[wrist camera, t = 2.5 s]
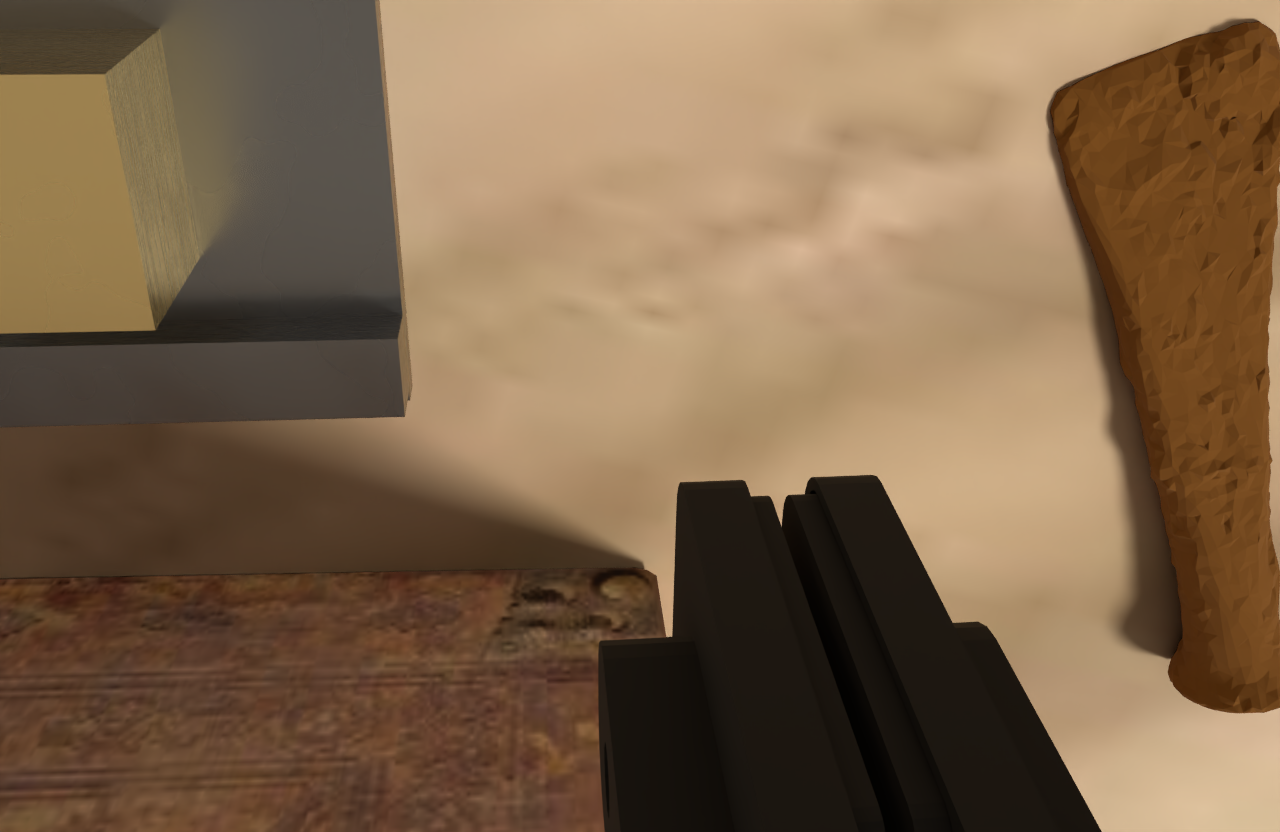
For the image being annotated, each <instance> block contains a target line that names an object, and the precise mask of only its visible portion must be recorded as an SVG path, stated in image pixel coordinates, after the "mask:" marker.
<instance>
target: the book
mask: <svg viewBox="0 0 1280 832" xmlns="http://www.w3.org/2000/svg"><path fill="white" fill-rule="evenodd" d="M662 637H666V633H665V627H664V620H663V614H662V608H661V601H660V595H659V589H658V582H657V576H656V575H654V574H653V573H651V572H649V571H648V570H643V569H639V568H634V567H632V568H572V569H519V570H465V571H411V572H357V573H304V574H250V575H196V576H142V577H89V578H35V579H0V832H605V829H604V817H603V804H602V790H601V773H600V751H599V714H598V650H599V642H600V641H602V640H622V639H642V638H662Z"/></svg>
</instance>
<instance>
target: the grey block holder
mask: <svg viewBox="0 0 1280 832" xmlns="http://www.w3.org/2000/svg"><path fill="white" fill-rule="evenodd" d="M0 29H160V34H161V39H162V45H163V51H164V57H165V62H166V68H167V74H168V80H169V85H170V91H171V97H172V103H173V108H174V114H175V120H176V126H177V132H178V137H179V143H180V149H181V155H182V160H183V166H184V172H185V178H186V183H187V189H188V195H189V201H190V207H191V212H192V218H193V224H194V230H195V235H196V241H197V247H198V253H199V260H198V262H197V263H196V265H195V267H194V268H193V270H192V272H191V273H190V275H189V276H188V278H187V280H186V281H185V283H184V285H183V286H182V288H181V289H180V291H179V293H178V294H177V296H176V298H175V299H174V301H173V302H172V304H171V306H170V307H169V309H168V311H167V312H166V314H165V316H164V317H163V319H162V320H161V322H160V324H159V325H158V327H157V329H156V330H151V331H101V332H52V333H2V334H0V427H32V426H70V425H108V424H146V423H184V422H222V421H260V420H299V419H337V418H375V417H405V412H406V407H407V401H408V400H410V397H411V391H412V375H411V363H410V352H409V340H408V328H407V317H406V305H405V293H404V282H403V270H402V258H401V247H400V235H399V223H398V212H397V200H396V188H395V177H394V165H393V153H392V142H391V130H390V118H389V107H388V95H387V83H386V72H385V60H384V48H383V36H382V25H381V13H380V1H379V0H0Z"/></svg>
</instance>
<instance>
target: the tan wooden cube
mask: <svg viewBox="0 0 1280 832" xmlns="http://www.w3.org/2000/svg"><path fill="white" fill-rule="evenodd" d="M198 260H199V253H198V247H197V241H196V235H195V230H194V224H193V218H192V212H191V207H190V201H189V195H188V189H187V183H186V178H185V172H184V166H183V160H182V155H181V149H180V143H179V137H178V132H177V126H176V120H175V114H174V108H173V103H172V97H171V91H170V85H169V80H168V74H167V68H166V62H165V57H164V51H163V45H162V39H161V34H160V29H0V334H2V333H52V332H101V331H151V330H156V329H157V327H158V325H159V324H160V322H161V320H162V319H163V317H164V316H165V314H166V312H167V311H168V309H169V307H170V306H171V304H172V302H173V301H174V299H175V298H176V296H177V294H178V293H179V291H180V289H181V288H182V286H183V285H184V283H185V281H186V280H187V278H188V276H189V275H190V273H191V272H192V270H193V268H194V267H195V265H196V263H197V262H198Z"/></svg>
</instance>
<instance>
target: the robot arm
mask: <svg viewBox="0 0 1280 832" xmlns="http://www.w3.org/2000/svg"><path fill="white" fill-rule="evenodd" d="M598 714H599V751H600V773H601V790H602V804H603V817H604V829H605V832H1102V831H1101V830H1100V828H1099V826H1098V824H1097V822H1096V820H1095V819H1094V817H1093V815H1092V813H1091V811H1090V810H1089V808H1088V806H1087V804H1086V802H1085V800H1084V799H1083V797H1082V795H1081V793H1080V791H1079V789H1078V788H1077V786H1076V784H1075V782H1074V780H1073V779H1072V777H1071V775H1070V773H1069V771H1068V769H1067V768H1066V766H1065V764H1064V762H1063V760H1062V758H1061V757H1060V755H1059V753H1058V751H1057V749H1056V748H1055V746H1054V744H1053V742H1052V740H1051V738H1050V737H1049V735H1048V733H1047V731H1046V729H1045V727H1044V726H1043V724H1042V722H1041V720H1040V718H1039V717H1038V715H1037V713H1036V711H1035V709H1034V707H1033V706H1032V704H1031V702H1030V700H1029V698H1028V696H1027V695H1026V693H1025V691H1024V689H1023V687H1022V686H1021V684H1020V682H1019V680H1018V678H1017V676H1016V675H1015V673H1014V671H1013V669H1012V667H1011V665H1010V664H1009V662H1008V660H1007V658H1006V656H1005V654H1004V653H1003V651H1002V649H1001V647H1000V645H999V644H998V642H997V640H996V638H995V637H994V636H993V634H992V633H991V631H990V630H989V629H988V627H987V626H985V625H983V624H981V623H979V622H964V623H952V621H951V619H950V617H949V615H948V613H947V611H946V609H945V607H944V605H943V603H942V601H941V599H940V597H939V595H938V593H937V591H936V589H935V587H934V585H933V583H932V581H931V579H930V578H929V576H928V574H927V572H926V570H925V568H924V566H923V564H922V562H921V560H920V558H919V556H918V554H917V552H916V550H915V548H914V546H913V544H912V542H911V540H910V538H909V536H908V534H907V532H906V530H905V528H904V526H903V524H902V522H901V520H900V519H899V517H898V515H897V513H896V511H895V509H894V507H893V505H892V503H891V501H890V499H889V497H888V495H887V493H886V491H885V489H884V487H883V485H882V483H881V481H880V480H879V479H878V477H877V476H874V475H860V476H834V477H811V478H810V480H809V481H808V483H807V486H806V490H805V494H802V495H788V496H787V497H786V499H785V502H784V509H783V519H782V527H781V524H780V521H779V519H778V516H777V513H776V510H775V507H774V504H773V501H772V499H771V497H769V496H752V497H751V496H750V493H749V490H748V487H747V485H746V482H745V481H743V480H730V481H704V482H680V484H679V487H678V493H677V511H676V542H675V573H674V604H673V635H672V637H662V638H642V639H622V640H602V641H600V642H599V650H598Z"/></svg>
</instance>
